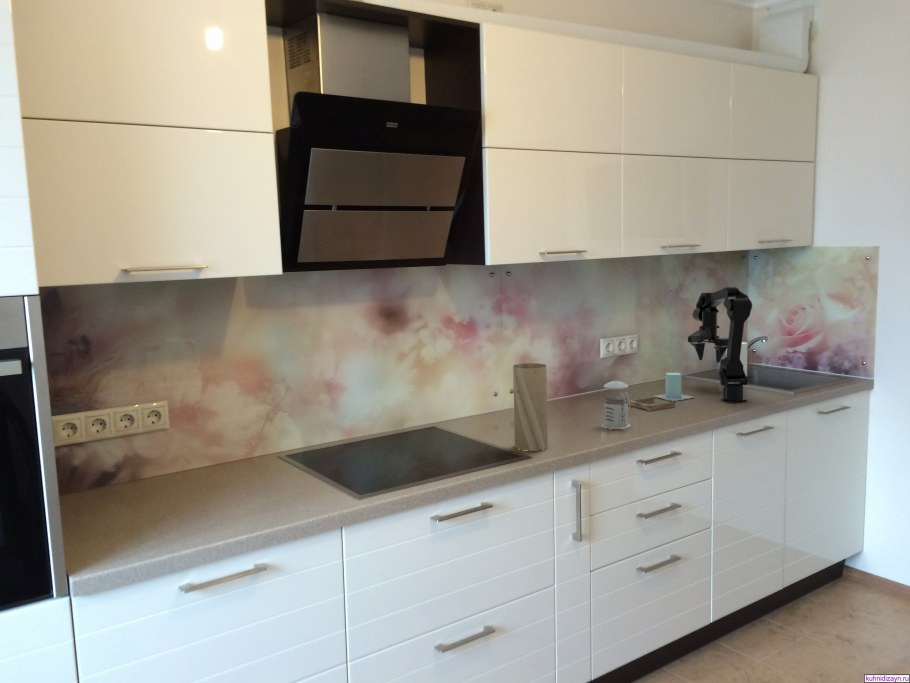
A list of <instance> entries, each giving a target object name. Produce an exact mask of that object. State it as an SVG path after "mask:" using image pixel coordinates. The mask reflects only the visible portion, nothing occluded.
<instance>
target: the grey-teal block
mask: <svg viewBox="0 0 910 683" xmlns="http://www.w3.org/2000/svg"><path fill="white" fill-rule="evenodd" d="M665 394H666V396H667V397H668V398H681V394H682V373H680V372H665Z"/></svg>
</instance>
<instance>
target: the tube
mask: <svg viewBox="0 0 910 683" xmlns="http://www.w3.org/2000/svg"><path fill="white" fill-rule="evenodd" d="M547 371H548V370H547V365H546V364H544V363H532V362H531V363H525V362H524V363H518V364H517V363H516V364H514V365H513V366H512V374H513V375H512V379H513V382H512V384H513V415H514V416H513V418H514V419H513V420H514V422H513V423H514V449H515V448H517V449H520V450H528V451H538V450H543V449H546V448H547V449H549V440H548V439H549V435H548V434H549V430H548V429H549V427H548V425H549V424H548V383H547V382H548V376H547V374H548V373H547ZM547 449H546V450H547ZM543 451H544V450H543ZM538 452H539V451H538Z"/></svg>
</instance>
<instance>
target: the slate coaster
mask: <svg viewBox="0 0 910 683" xmlns="http://www.w3.org/2000/svg"><path fill="white" fill-rule="evenodd" d="M652 397H658V398H662V399H665V400H664V401H666V400H670V401H676V402H679V401H678V400H683V401H685V400H684V399H689V400H691V399H690V398H694V399H695V396H691V395H685V394H683V393H681V398H668V397H667V396H666V393H664V394H658V395H653V396H652ZM662 399H661V400H662ZM670 401H669V402H670Z"/></svg>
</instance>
